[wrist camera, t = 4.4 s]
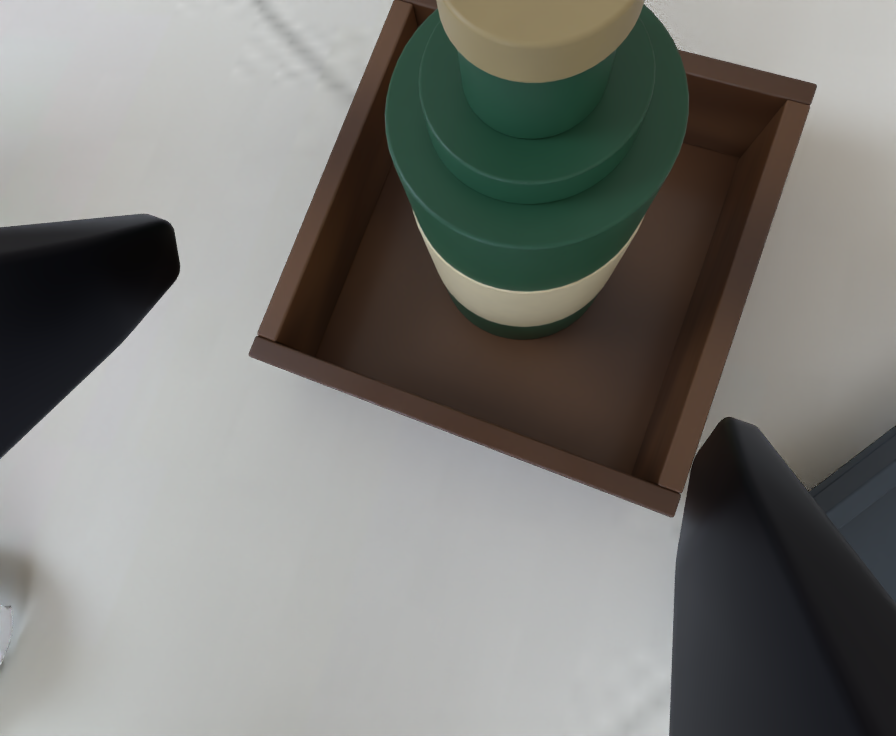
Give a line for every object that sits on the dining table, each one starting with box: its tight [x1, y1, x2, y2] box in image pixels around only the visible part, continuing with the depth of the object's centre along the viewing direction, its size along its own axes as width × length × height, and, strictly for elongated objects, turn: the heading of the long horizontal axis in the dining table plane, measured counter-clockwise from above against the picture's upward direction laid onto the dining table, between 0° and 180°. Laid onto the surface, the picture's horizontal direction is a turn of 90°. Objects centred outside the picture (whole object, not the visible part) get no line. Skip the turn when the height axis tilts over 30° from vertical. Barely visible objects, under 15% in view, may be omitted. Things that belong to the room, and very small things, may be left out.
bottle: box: [385, 0, 689, 340], centre depth 14 cm, size 6×6×13 cm
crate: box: [249, 0, 817, 517], centre depth 19 cm, size 13×13×4 cm
